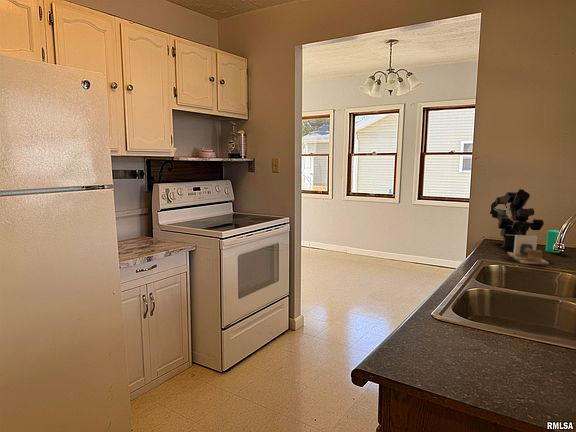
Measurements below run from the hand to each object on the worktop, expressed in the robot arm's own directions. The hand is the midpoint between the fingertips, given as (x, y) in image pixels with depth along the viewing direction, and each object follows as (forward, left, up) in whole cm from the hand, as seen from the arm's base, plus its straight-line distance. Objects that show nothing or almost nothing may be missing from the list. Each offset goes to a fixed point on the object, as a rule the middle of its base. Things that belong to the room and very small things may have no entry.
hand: (524, 238), depth 186 cm
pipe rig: (+5, -2, -9) cm, 10 cm away
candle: (-8, +24, -9) cm, 27 cm away
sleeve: (+2, -1, -7) cm, 8 cm away
